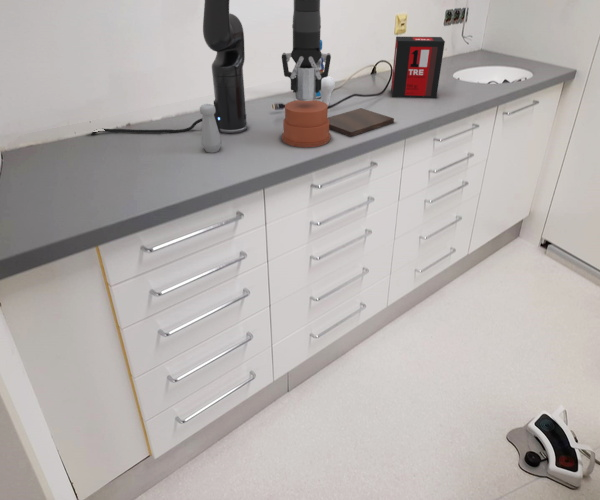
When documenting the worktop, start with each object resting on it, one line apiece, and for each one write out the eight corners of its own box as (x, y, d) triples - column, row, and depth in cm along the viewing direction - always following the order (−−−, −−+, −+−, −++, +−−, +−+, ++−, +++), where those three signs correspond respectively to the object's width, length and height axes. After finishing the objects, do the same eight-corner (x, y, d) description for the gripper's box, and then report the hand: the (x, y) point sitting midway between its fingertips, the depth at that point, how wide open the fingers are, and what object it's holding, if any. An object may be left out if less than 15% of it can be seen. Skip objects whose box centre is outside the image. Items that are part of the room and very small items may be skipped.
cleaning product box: (392, 97, 181) (397, 40, 170) (390, 90, 189) (396, 36, 178) (436, 98, 180) (444, 41, 169) (433, 91, 187) (441, 37, 176)
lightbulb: (320, 110, 168) (320, 78, 162) (315, 105, 173) (315, 74, 167) (336, 108, 170) (337, 76, 164) (330, 103, 175) (331, 72, 168)
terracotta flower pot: (280, 147, 139) (279, 113, 134) (283, 130, 152) (283, 98, 146) (330, 147, 139) (331, 113, 133) (330, 130, 151) (331, 98, 145)
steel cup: (295, 100, 136) (295, 68, 131) (296, 94, 141) (296, 63, 136) (316, 101, 136) (316, 68, 131) (316, 95, 141) (317, 63, 136)
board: (350, 136, 146) (351, 132, 145) (318, 124, 156) (318, 120, 155) (393, 122, 157) (394, 118, 156) (360, 112, 166) (360, 107, 165)
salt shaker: (213, 144, 141) (208, 100, 134) (226, 149, 138) (222, 104, 131) (198, 150, 137) (192, 105, 130) (211, 155, 134) (206, 109, 127)
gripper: (333, 26, 131) (330, 88, 140) (281, 26, 131) (282, 87, 141) (333, 31, 125) (330, 96, 134) (278, 30, 125) (280, 95, 134)
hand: (305, 91), depth 137 cm, fingers closed on steel cup, 6 cm apart
